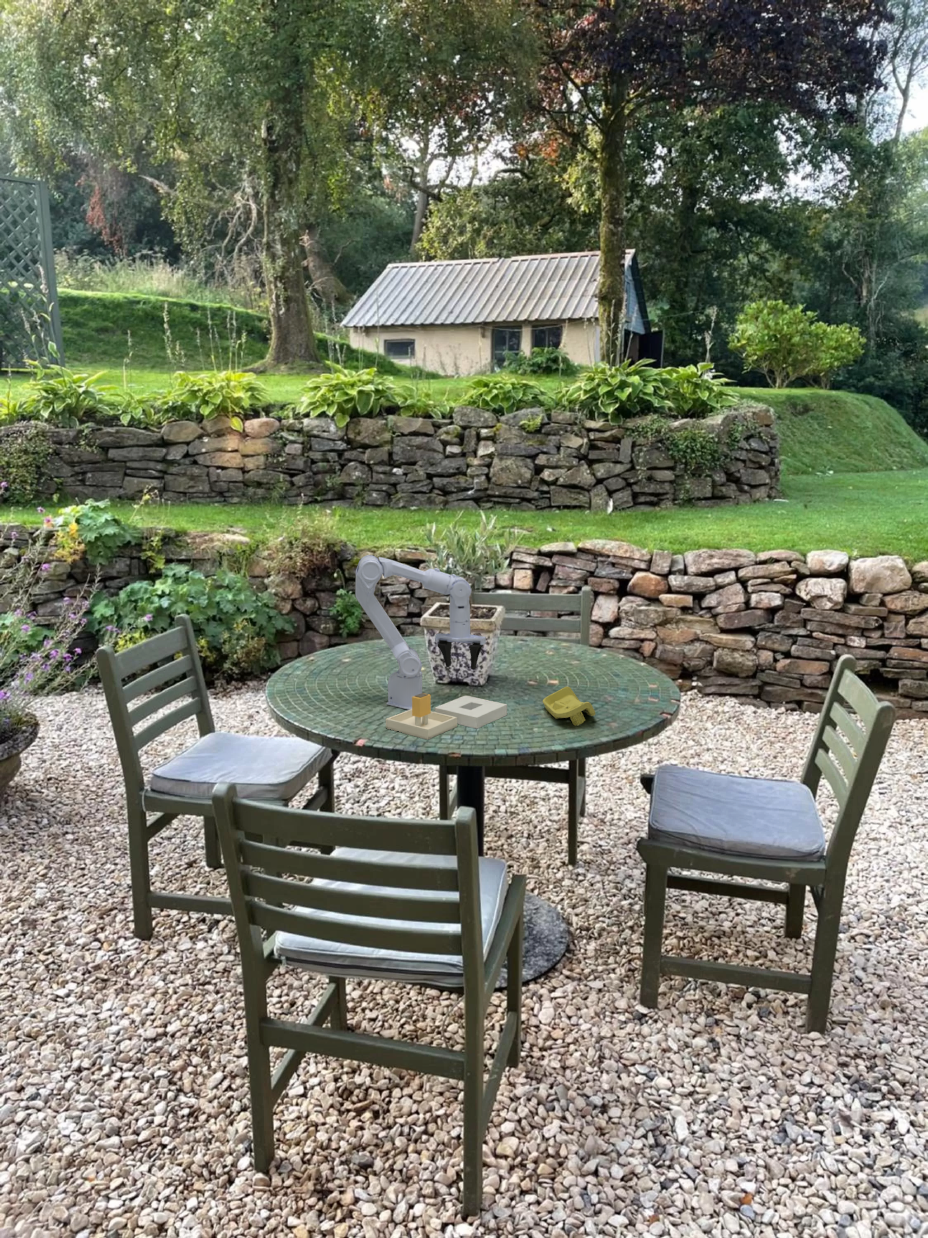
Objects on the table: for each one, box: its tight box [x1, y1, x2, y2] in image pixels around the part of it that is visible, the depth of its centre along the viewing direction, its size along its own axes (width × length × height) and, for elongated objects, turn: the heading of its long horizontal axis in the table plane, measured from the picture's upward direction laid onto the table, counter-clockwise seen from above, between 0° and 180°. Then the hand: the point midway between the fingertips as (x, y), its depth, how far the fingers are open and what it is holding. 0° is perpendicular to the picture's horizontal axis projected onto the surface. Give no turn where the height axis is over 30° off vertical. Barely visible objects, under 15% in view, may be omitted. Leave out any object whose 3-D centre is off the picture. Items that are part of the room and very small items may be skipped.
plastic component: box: [542, 686, 596, 726], centre depth 222 cm, size 20×7×10 cm
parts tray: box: [385, 709, 458, 740], centre depth 214 cm, size 14×12×3 cm
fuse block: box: [434, 695, 508, 729], centre depth 223 cm, size 14×14×3 cm
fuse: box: [412, 692, 432, 727], centre depth 213 cm, size 3×4×8 cm, turn 144°
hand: (461, 667), depth 233 cm, fingers open, 7 cm apart
